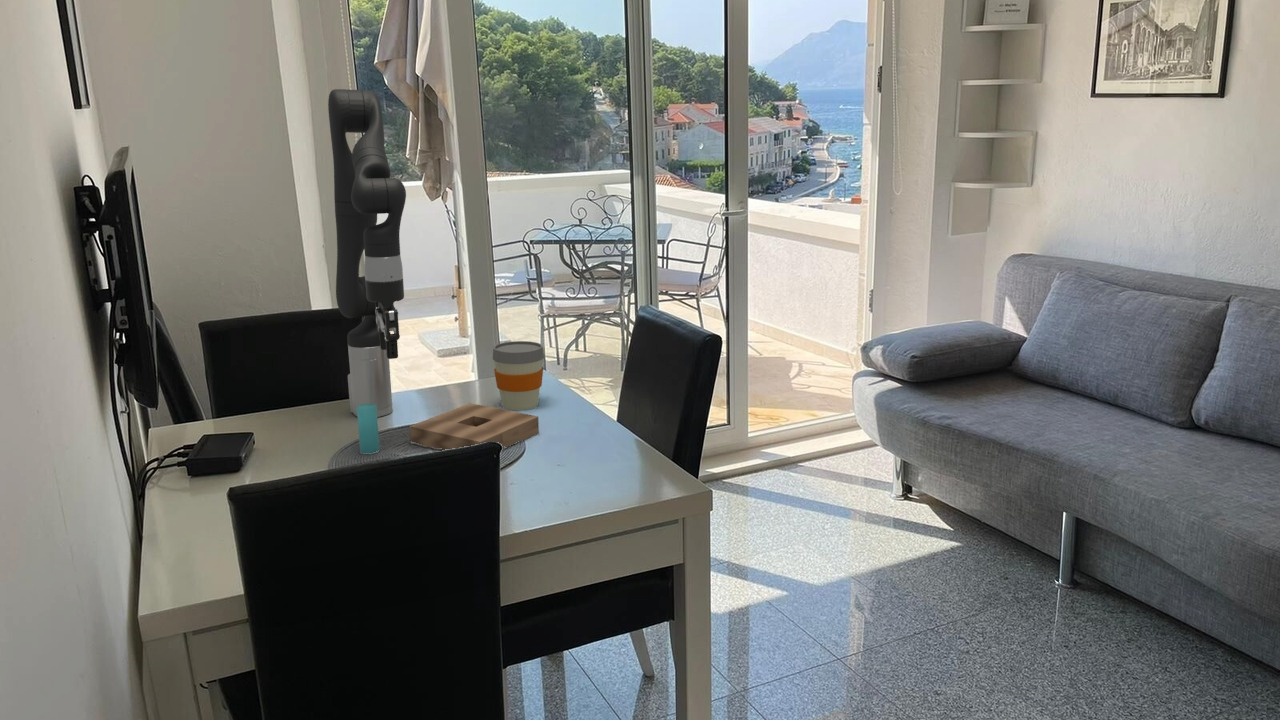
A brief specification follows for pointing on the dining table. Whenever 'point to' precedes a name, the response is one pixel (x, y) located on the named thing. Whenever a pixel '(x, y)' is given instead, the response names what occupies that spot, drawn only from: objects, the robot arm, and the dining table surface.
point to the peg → (368, 428)
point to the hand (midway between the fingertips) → (389, 353)
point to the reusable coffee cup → (518, 373)
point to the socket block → (474, 427)
